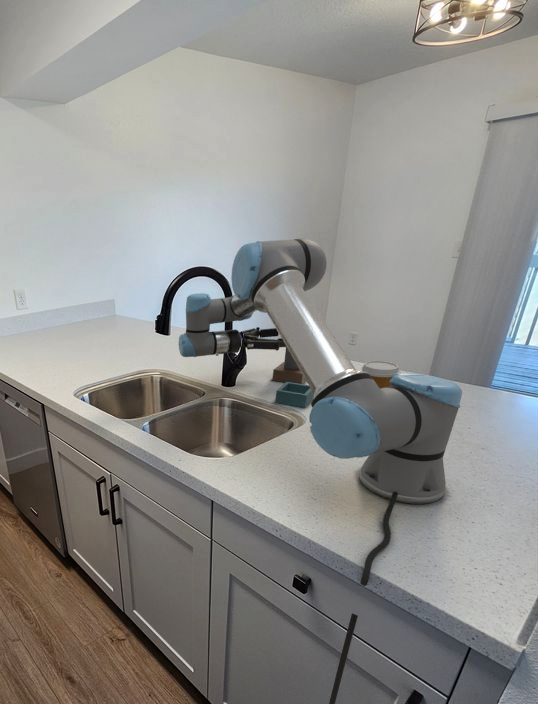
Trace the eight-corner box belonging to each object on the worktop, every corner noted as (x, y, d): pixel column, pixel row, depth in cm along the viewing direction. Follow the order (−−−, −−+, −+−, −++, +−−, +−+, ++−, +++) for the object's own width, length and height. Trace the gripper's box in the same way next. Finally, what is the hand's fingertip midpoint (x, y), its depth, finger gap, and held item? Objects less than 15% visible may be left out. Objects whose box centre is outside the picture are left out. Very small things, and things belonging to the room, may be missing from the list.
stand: (301, 385, 146) (302, 373, 144) (272, 380, 151) (273, 369, 149) (310, 376, 153) (311, 365, 151) (282, 372, 158) (283, 361, 156)
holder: (304, 408, 129) (306, 395, 127) (275, 402, 134) (276, 390, 132) (313, 398, 135) (315, 386, 133) (285, 393, 140) (286, 381, 138)
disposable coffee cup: (395, 411, 123) (405, 370, 118) (359, 410, 125) (367, 370, 120) (385, 398, 131) (394, 360, 126) (351, 398, 133) (358, 360, 128)
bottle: (304, 369, 147) (309, 325, 141) (286, 370, 148) (291, 326, 141) (298, 364, 153) (303, 321, 146) (281, 365, 153) (286, 322, 146)
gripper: (213, 344, 155) (270, 339, 157) (239, 363, 133) (304, 357, 135) (214, 323, 152) (272, 317, 154) (240, 339, 130) (307, 333, 132)
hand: (287, 336), depth 145 cm, fingers open, 13 cm apart
